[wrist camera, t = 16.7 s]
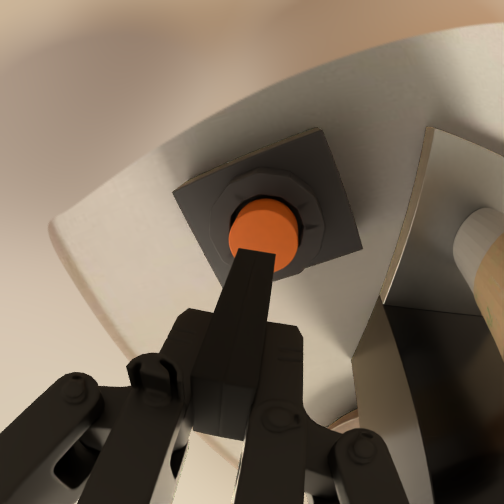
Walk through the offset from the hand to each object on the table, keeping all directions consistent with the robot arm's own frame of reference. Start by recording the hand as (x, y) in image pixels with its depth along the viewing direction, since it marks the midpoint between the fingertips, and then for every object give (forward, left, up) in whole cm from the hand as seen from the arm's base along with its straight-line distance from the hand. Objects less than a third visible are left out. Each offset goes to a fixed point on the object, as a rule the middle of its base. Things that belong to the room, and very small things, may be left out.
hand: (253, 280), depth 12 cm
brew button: (0, 0, -6) cm, 6 cm away
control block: (0, 0, -10) cm, 10 cm away
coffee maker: (+3, +17, -10) cm, 20 cm away
